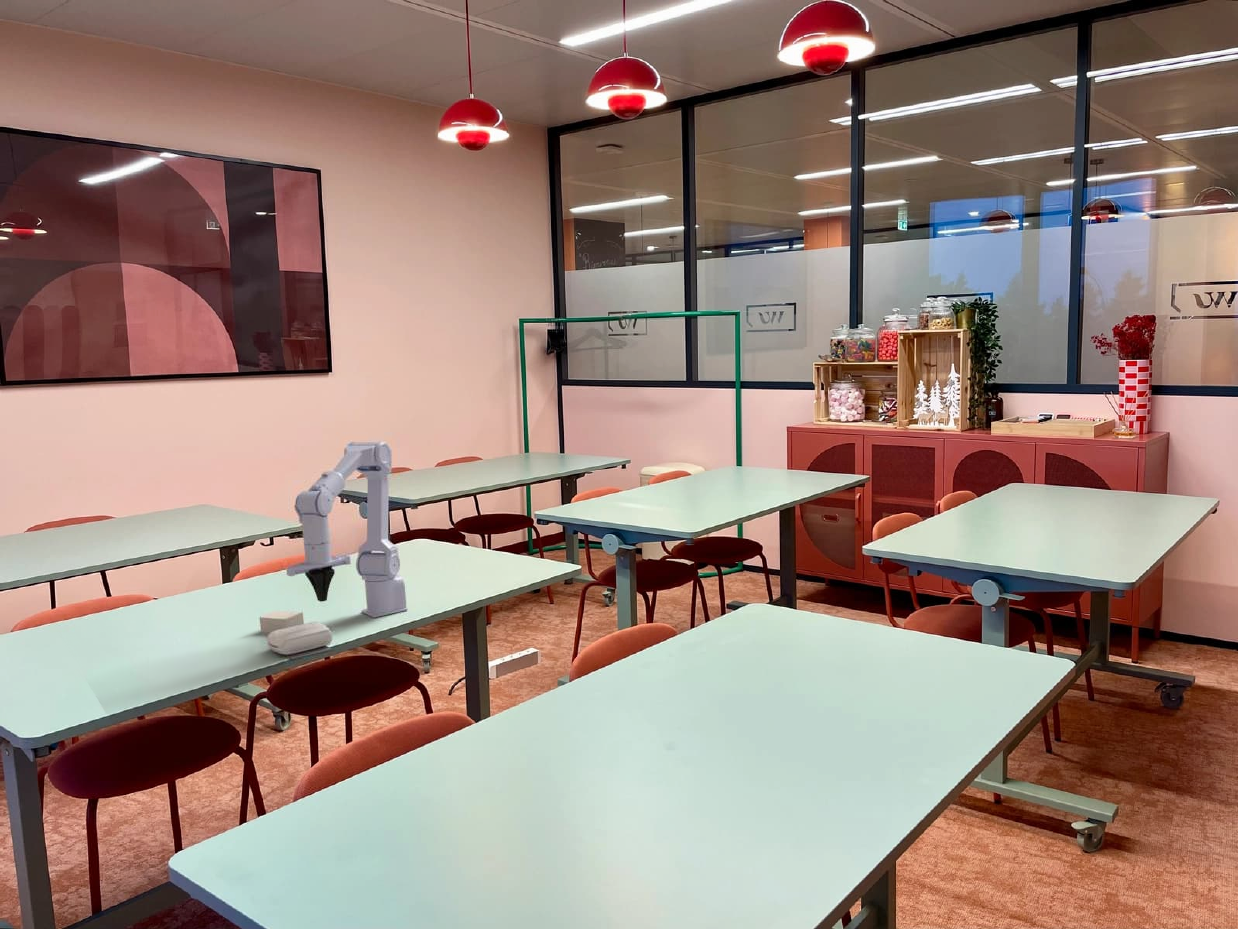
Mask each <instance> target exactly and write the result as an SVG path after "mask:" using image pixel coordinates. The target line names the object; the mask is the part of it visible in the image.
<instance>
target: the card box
mask: <svg viewBox="0 0 1238 929" xmlns="http://www.w3.org/2000/svg"><path fill="white" fill-rule="evenodd" d="M258 618H259V626H260V627H259V628H260V633H267V634H270V633H271V632H273V631H276V630H280V629H284V628H289V627H293V626H297V625H302V624H305V623H304V612H303V611H293V610H281V609H278V610H276V609H275V610H274V611H272V612H270V613H266V614H264V615H262V616H259V617H258Z"/></svg>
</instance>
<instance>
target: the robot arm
mask: <svg viewBox="0 0 1238 929" xmlns="http://www.w3.org/2000/svg"><path fill="white" fill-rule="evenodd" d="M392 454H393V453H392V449H391V447H390V446H389V445H388V443H387V442H386V441H384V440H383V441H382V440H381V441H363V442H362V441H358V442H357V441H350V442H349V443H348V444H347V445H346V446H345V447H344V450H343V457H342V458H341V459H340V460H339V462H338V463H337V465H336V466H335V467H334V468H333V470H327V471H323V472H322V473H321V476H320V477H319V478H318V479H317V480H316V482H314V483H313V484H312V485H311V487H310V488H308V490H303V491H301V492H300V493H299V494H297V496H296V499H295V501H294V502H295V504H294V510H295V513H296V514H297V516H298V521H299V524H301V526H302V527H301V528H302V537H303V539H302V540H303V546H304V549H303V550H304V559H305V560H304V562H301V563H297V564H293V565H290V566H286V567H285V568H286V576H289V577H295V576H297V575H302V574H305V576H306V578H307V579H308V581H309V582H310V584H311V586H312V588H313V590H314V593H315V595H316V600H317V601H319V602H321V603H323V602H326V601H327V600H328V594H329V588H330V585H331V582H332V579H333V578H334V576H335V569H334V567H339V566H343V565H344V566H345V565H351V563H352V562H351V556H350V555H347V554H343V555H339V556H332V547H331V546H332V545H331V538H330V537H331V536H330V525H329V514H331V512H332V510H333V505H334V502H335V499H336V498H337V497H338V496H339V495H340V493H342V491H343V490H344V488H345V486H346V483H345V481H346V480H347V479H348V478H349V477H350V476H351V475H352V474H353V473H354V472H356V471H357V472H358V473H360V474H361V475H364V477H365V478H366V480H367V497H366V498H367V500H366V501H367V504H366V506H367V508H366V509H367V512H366V515H367V516H366V517H367V518H366V540H365V542H364V543H362V544H361V545H360V546H359V547H358V552H357V553H358V554H357V557H356V562H355V569H356V571H357V573H358V575H359V576H361V580H363V581H364V585H365V586H364V588H365V599H366V600H365V601H366V608H364V609H361V612H362V613H363V614H365V615H368V616H369V617H371V618H378V617H383V616H387V615H390V614H396V613H400V612H404V611H408V610H409V608H408V607H407V599H406V598H407V597H406V596H407V595H406V594H407V593H406V586H405V581H404V578H403V577H402V576H401V575H400V574H398V573H399V571H400V568H401V560H400V557H399V548H398V547H397V545H395V544H394V543H392V542H391V541H390V540H389V497H390V496H389V488H390V487H389V485H390V483H389V482H390V480H389V479H390V474H391V473H392Z"/></svg>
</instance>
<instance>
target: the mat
mask: <svg viewBox="0 0 1238 929" xmlns="http://www.w3.org/2000/svg"><path fill="white" fill-rule="evenodd" d="M330 651H333V649H332V648H330V647H329V646H328V645H325V646H321V647H318V648H314V649H310V650H306V651H301V652H297V653H293V654H289V655H285V656H286V657H288V658H289V659H290V660H292V661H293V660H297V659H300V658H305V657H309V656H314V655H317V654H321V653H326V652H330Z"/></svg>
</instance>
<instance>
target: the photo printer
mask: <svg viewBox="0 0 1238 929" xmlns="http://www.w3.org/2000/svg"><path fill="white" fill-rule="evenodd" d="M332 638H333V637H332V631H331V630H330V628H329V627H327V626H325V625H324V624H323V623H320V622H319V621H311V622H306V623H304V624H302V625H297V626H293V627H289V628H284V629H280V630H276V631H273V632H271V633H268V635H267V638H266V641H267V646H268V648H269V649H270V650H271V651H273V652H274V653H277V654H280V655H284V656H286V655H289V654H293V653H297V652H301V651H306V650H310V649H314V648H318V647H321V646H325V645H326V646H328V645H330V644H331V643H332V640H333V639H332Z"/></svg>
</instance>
